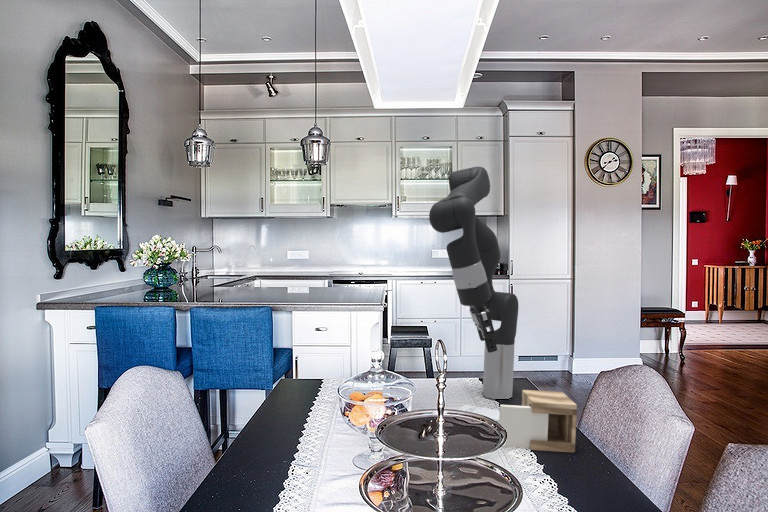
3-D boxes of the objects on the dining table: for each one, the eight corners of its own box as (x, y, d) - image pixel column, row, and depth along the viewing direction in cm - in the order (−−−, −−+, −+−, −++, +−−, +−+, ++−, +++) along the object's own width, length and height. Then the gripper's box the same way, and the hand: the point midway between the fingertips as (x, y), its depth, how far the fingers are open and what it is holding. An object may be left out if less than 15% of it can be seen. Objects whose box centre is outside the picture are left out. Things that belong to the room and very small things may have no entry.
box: (520, 432, 129) (522, 389, 128) (560, 435, 128) (562, 391, 128) (531, 449, 117) (533, 402, 117) (574, 452, 117) (576, 405, 117)
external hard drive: (499, 425, 135) (455, 416, 141) (506, 417, 143) (464, 409, 148) (499, 419, 135) (455, 410, 141) (507, 411, 143) (465, 403, 148)
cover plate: (498, 443, 120) (500, 404, 120) (545, 446, 120) (546, 407, 120) (499, 446, 119) (501, 406, 119) (547, 449, 118) (548, 409, 118)
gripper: (451, 280, 127) (468, 340, 129) (460, 293, 112) (479, 360, 115) (480, 272, 126) (496, 332, 129) (493, 283, 112) (511, 350, 115)
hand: (488, 345), depth 122 cm, fingers open, 8 cm apart
